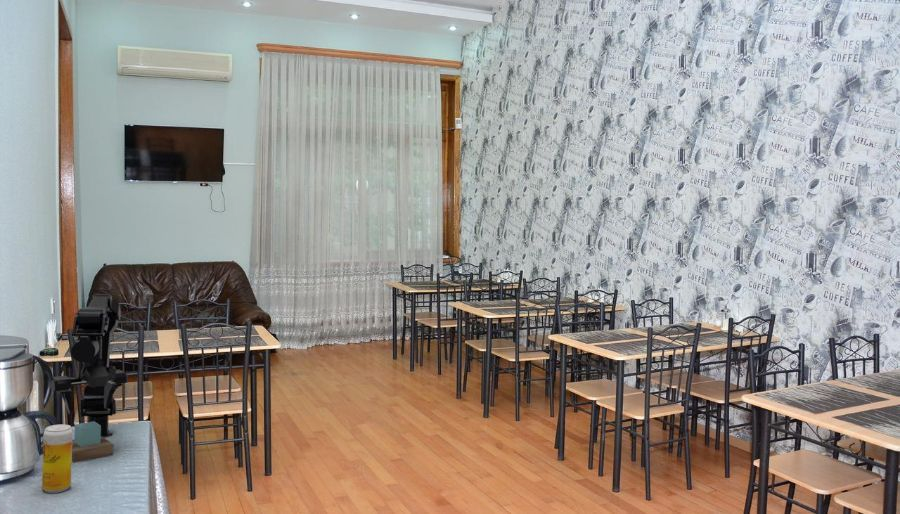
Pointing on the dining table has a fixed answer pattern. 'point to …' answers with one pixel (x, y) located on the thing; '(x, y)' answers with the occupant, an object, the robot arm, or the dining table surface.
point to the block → (87, 434)
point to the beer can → (57, 458)
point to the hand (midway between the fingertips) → (88, 411)
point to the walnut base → (91, 450)
